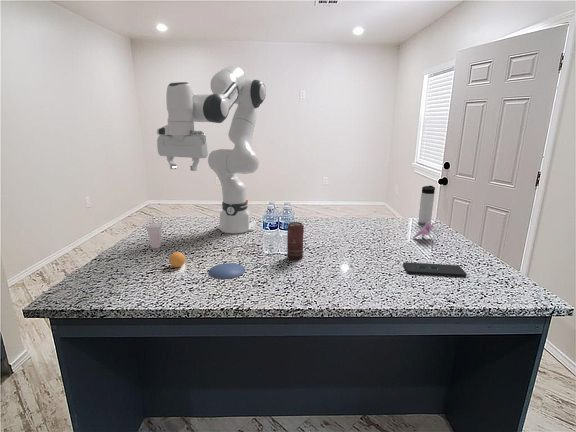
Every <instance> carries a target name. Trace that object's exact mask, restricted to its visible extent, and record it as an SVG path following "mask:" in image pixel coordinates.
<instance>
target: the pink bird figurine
mask: <svg viewBox="0 0 576 432" xmlns="http://www.w3.org/2000/svg"><path fill="white" fill-rule="evenodd" d="M437 222H438V221H436V222H434V223H431V224H430V222H427V223H426V224H425V225H423V227H422V228H421V229H420V230H419V231H417V233H416V234H415V235H414V236H413V237H412V240H413V239H416V238H417V237H419V236H421V237H422V238H423V237H424V236H425V235H426V236H429V237H430V239H431V242H432V243H434V240H433V238H432V237H431V235H430V234H431V229H434V228H435V224H437Z"/></svg>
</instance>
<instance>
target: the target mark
mask: <svg viewBox="0 0 576 432" xmlns="http://www.w3.org/2000/svg"><path fill="white" fill-rule="evenodd" d="M245 273H246V267H245V266H244V265H242V264H238V263H234V262H229V263H228V262H227V263H220V264H216V265H214V266H212V267H210V268H209V269H208V273H207V274H208V275H209V276H210V277H212V278H214V279H218V280H230V279H236V278H239V277H241V276H243V275H244V274H245Z"/></svg>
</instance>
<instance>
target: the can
mask: <svg viewBox="0 0 576 432" xmlns="http://www.w3.org/2000/svg"><path fill="white" fill-rule="evenodd" d="M304 227H305V226H304V224H303V223H302V222H298V221H297V222H296V221H294V222H293V221H292V222H289V223H288V224H287V233H286V234H287V239H286V240H287V241H286V242H287V244H286V246H287V249H286V251H287V254H286V255H287V256H286V257H287V259H288V260H290V261H300V260H302V259H303V257H304V232H305V229H304Z"/></svg>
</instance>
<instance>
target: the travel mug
mask: <svg viewBox="0 0 576 432" xmlns="http://www.w3.org/2000/svg"><path fill="white" fill-rule="evenodd" d="M435 190H436V187H435V186H433V185H425V186H424V185H423V186H422V187H421V195H420V203H419V211H418V212H419V213H418V220H417V223H418V224H419V225H423V226H424V225H425V224H426V223H427V222H430V225H432V215H433V209H434V200H435Z"/></svg>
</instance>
